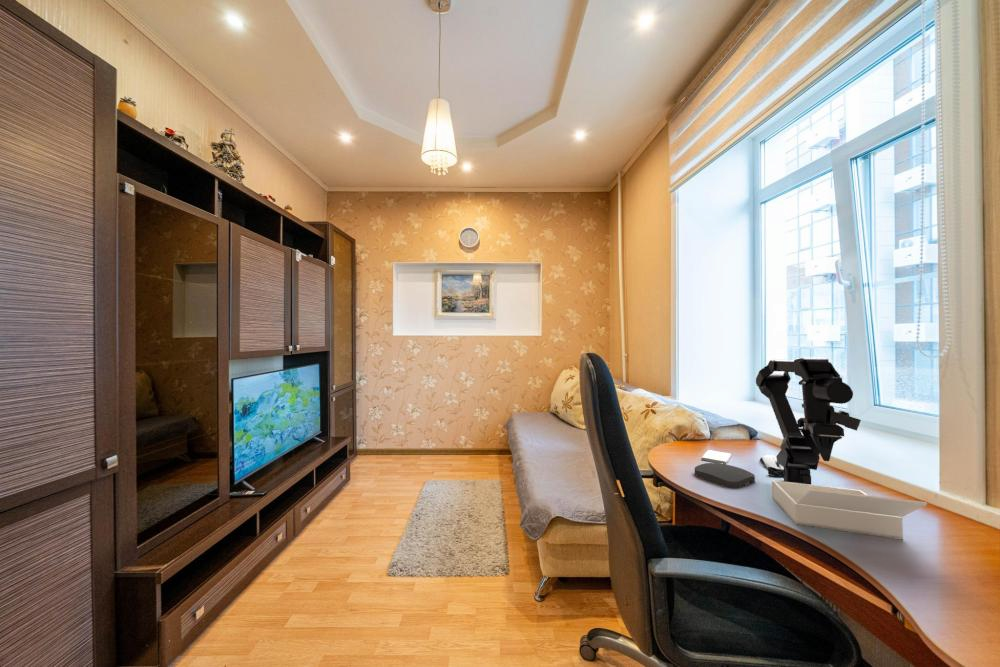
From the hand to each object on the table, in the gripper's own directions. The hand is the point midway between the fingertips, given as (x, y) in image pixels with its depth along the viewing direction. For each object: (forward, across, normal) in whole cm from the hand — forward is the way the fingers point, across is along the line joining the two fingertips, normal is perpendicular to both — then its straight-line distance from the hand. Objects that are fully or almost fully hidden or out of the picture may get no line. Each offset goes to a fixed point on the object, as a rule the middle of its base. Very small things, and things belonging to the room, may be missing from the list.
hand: (821, 457), depth 99 cm
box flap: (+10, -15, -1) cm, 18 cm away
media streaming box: (+12, +11, +23) cm, 28 cm away
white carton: (+14, -6, +1) cm, 15 cm away
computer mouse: (+11, +29, +7) cm, 32 cm away
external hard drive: (+10, +33, +25) cm, 42 cm away
